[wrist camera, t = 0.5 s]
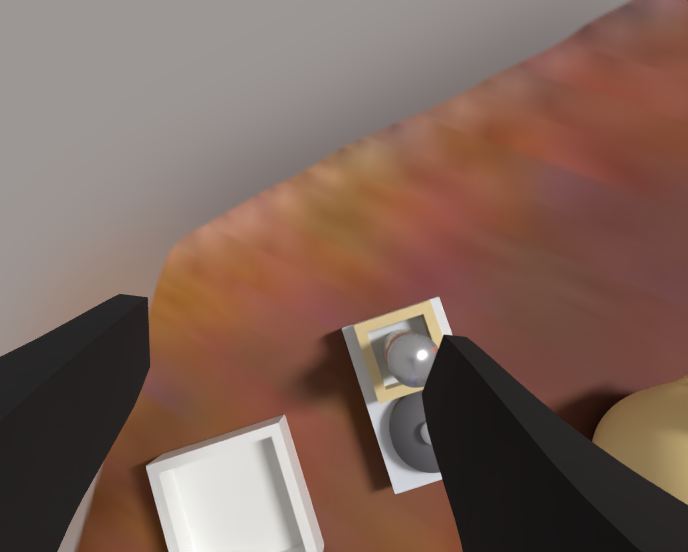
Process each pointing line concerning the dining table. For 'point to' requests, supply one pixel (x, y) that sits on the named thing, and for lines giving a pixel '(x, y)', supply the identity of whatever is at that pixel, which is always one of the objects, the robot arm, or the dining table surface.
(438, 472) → the white flat block
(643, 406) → the sculpture
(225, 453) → the tray
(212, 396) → the dining table surface
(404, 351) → the lock pin
